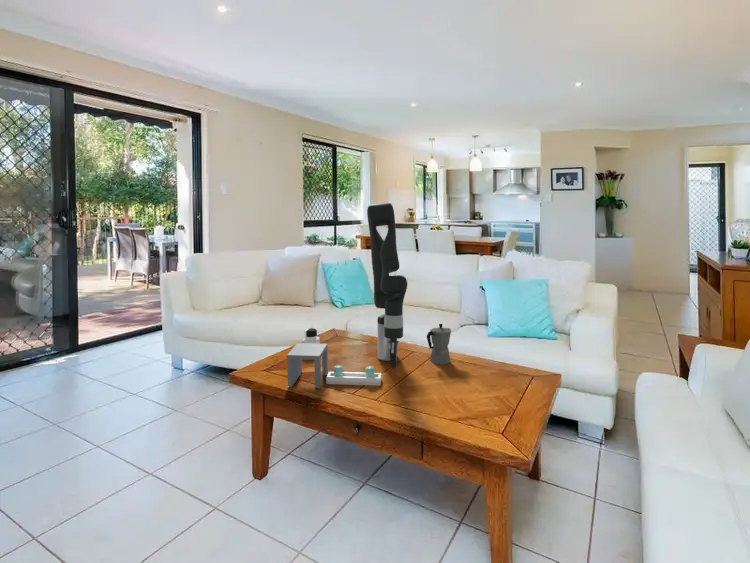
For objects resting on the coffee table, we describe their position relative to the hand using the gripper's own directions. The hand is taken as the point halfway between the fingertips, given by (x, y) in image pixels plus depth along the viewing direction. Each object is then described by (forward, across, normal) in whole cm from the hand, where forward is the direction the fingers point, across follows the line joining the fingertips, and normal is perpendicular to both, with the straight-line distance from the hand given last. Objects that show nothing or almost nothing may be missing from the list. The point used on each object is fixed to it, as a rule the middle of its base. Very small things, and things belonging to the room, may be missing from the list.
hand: (393, 367), depth 181 cm
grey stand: (+7, 0, +35) cm, 36 cm away
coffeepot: (+7, +28, -19) cm, 34 cm away
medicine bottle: (+7, +36, +43) cm, 56 cm away
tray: (+7, 0, +16) cm, 18 cm away
